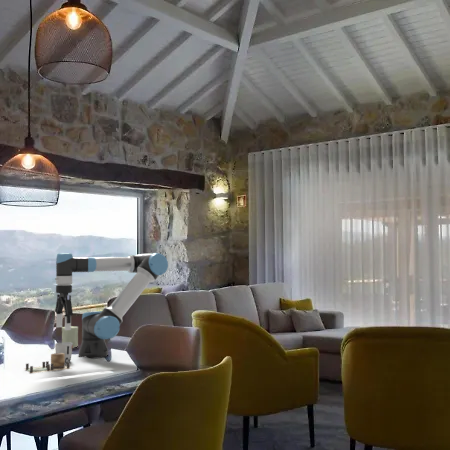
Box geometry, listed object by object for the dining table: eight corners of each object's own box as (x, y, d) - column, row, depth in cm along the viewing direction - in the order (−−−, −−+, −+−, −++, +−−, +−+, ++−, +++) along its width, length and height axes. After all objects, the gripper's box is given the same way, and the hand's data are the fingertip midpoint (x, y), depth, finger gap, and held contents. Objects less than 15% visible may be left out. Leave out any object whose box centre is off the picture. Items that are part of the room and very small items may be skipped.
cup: (67, 366, 266) (67, 345, 266) (51, 365, 267) (51, 344, 268) (75, 363, 274) (75, 342, 274) (60, 362, 275) (60, 342, 276)
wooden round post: (62, 365, 261) (62, 352, 262) (66, 367, 256) (66, 354, 256) (49, 367, 258) (49, 353, 258) (53, 369, 253) (53, 355, 253)
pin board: (63, 366, 265) (63, 358, 265) (71, 371, 254) (71, 362, 254) (23, 371, 255) (23, 363, 255) (31, 376, 244) (31, 367, 244)
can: (81, 347, 323) (81, 326, 324) (67, 349, 316) (67, 327, 317) (72, 345, 329) (72, 325, 330) (58, 347, 322) (58, 326, 323)
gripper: (49, 284, 281) (48, 326, 280) (64, 285, 260) (63, 331, 259) (63, 283, 285) (63, 325, 284) (80, 285, 264) (79, 330, 263)
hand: (63, 328), depth 271 cm, fingers open, 13 cm apart
